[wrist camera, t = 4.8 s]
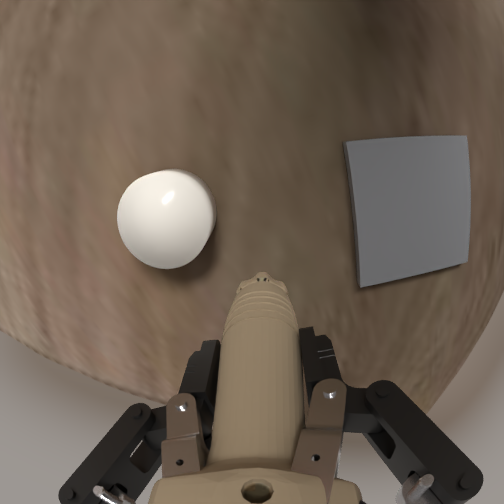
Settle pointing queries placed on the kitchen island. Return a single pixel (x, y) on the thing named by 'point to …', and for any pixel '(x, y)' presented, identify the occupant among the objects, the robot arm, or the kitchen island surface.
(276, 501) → the handle
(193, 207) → the white dome knob
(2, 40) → the kitchen island surface
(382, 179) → the coaster
